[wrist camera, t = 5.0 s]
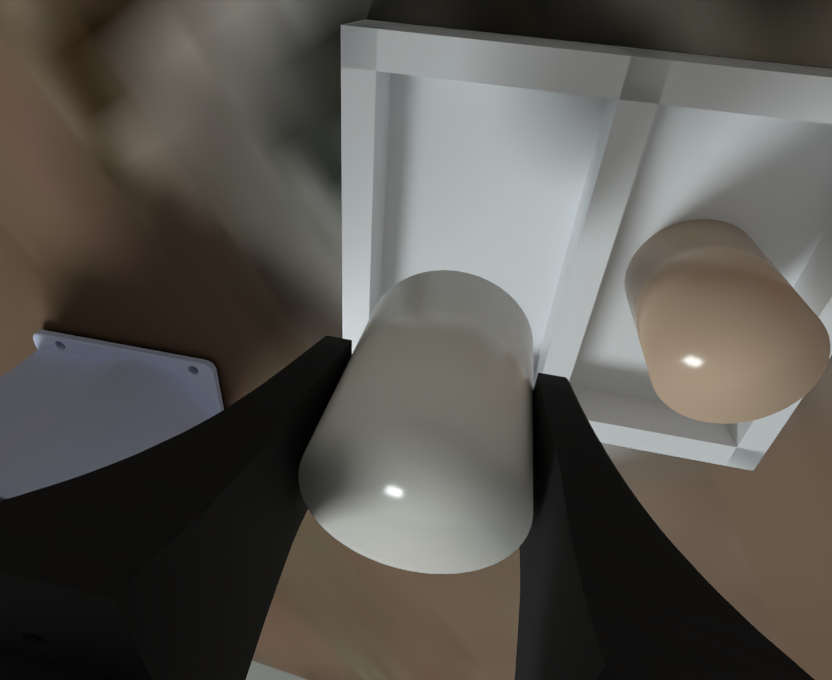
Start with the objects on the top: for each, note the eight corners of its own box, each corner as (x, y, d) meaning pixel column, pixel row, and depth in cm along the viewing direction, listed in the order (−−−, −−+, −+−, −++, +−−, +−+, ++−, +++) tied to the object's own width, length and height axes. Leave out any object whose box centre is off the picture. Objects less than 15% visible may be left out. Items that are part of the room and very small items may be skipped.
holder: (359, 358, 23) (342, 394, 21) (365, 19, 16) (340, 24, 14) (732, 424, 22) (753, 470, 20) (938, 80, 14) (1007, 96, 12)
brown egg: (609, 318, 19) (629, 408, 15) (647, 210, 17) (683, 282, 13) (727, 338, 19) (781, 435, 15) (784, 229, 16) (867, 310, 12)
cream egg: (370, 394, 15) (308, 551, 11) (367, 260, 12) (287, 396, 8) (519, 417, 14) (513, 591, 10) (547, 281, 12) (555, 438, 8)
